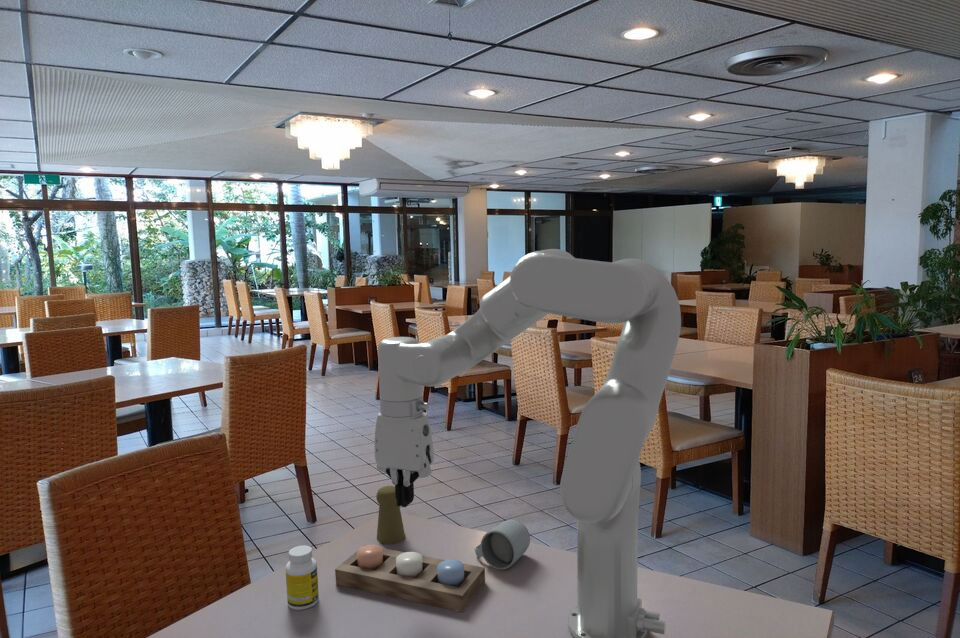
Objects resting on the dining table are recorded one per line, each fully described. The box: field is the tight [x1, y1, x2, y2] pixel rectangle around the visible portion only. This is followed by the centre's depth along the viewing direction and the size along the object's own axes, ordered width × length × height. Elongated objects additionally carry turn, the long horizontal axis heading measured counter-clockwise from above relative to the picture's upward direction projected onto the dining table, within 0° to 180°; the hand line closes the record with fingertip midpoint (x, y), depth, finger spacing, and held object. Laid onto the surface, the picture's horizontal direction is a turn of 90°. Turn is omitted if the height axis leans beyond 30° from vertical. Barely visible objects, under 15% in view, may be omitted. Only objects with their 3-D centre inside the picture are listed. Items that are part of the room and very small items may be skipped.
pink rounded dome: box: [356, 544, 383, 570], centre depth 126 cm, size 5×5×3 cm
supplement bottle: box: [285, 544, 320, 611], centre depth 117 cm, size 5×5×10 cm
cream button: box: [396, 551, 423, 579], centre depth 122 cm, size 5×5×3 cm
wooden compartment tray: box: [334, 544, 486, 613], centre depth 123 cm, size 26×10×3 cm, turn 67°
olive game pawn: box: [375, 485, 406, 545], centre depth 141 cm, size 6×6×11 cm
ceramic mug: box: [474, 519, 531, 571], centre depth 131 cm, size 11×8×8 cm
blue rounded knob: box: [437, 559, 465, 587], centre depth 119 cm, size 5×5×3 cm
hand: (405, 503), depth 121 cm, fingers closed
